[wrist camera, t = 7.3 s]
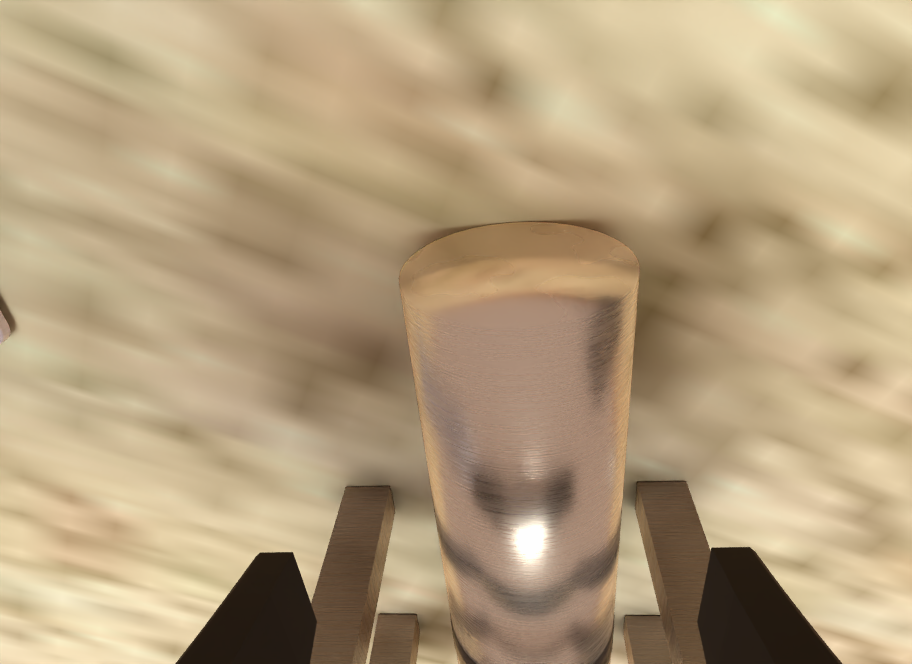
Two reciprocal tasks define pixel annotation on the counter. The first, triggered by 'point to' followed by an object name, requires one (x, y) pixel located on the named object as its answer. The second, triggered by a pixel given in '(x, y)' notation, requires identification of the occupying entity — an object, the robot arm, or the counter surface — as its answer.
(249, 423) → the counter surface
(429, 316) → the tube
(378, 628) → the collar
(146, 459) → the counter surface
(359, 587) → the collar
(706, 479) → the counter surface
